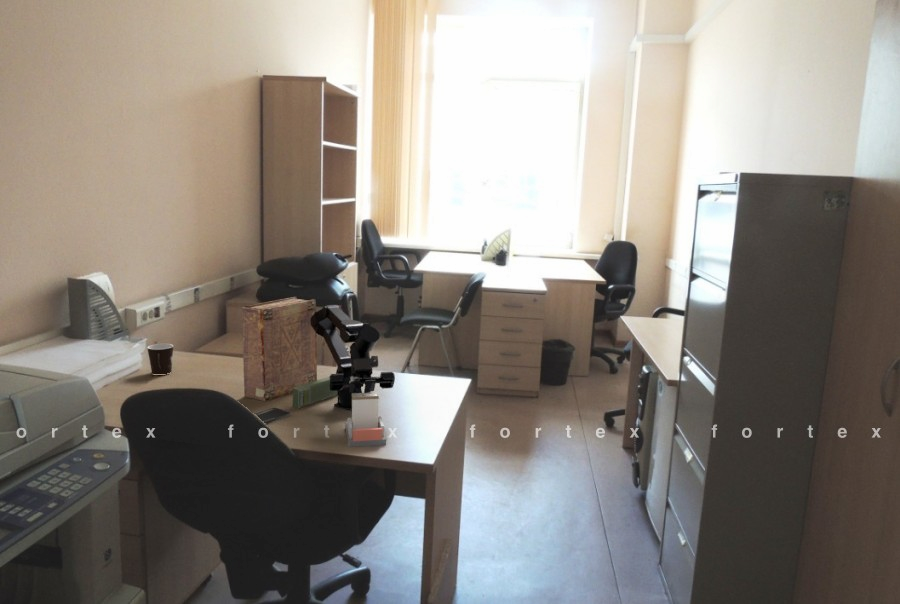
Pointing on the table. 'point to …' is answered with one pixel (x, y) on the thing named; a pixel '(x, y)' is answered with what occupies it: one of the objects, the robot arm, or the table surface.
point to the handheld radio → (312, 392)
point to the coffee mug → (160, 358)
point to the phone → (272, 415)
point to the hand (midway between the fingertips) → (364, 407)
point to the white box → (364, 410)
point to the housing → (365, 435)
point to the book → (278, 347)
